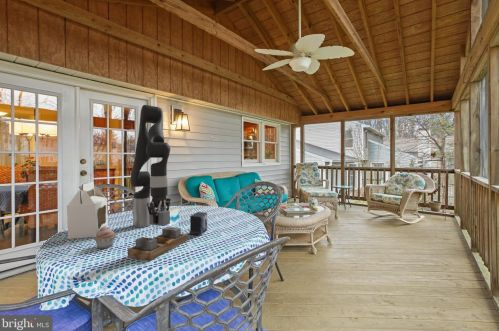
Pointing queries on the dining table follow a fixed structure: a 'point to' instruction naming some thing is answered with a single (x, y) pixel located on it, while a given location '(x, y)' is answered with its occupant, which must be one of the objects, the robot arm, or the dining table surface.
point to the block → (161, 218)
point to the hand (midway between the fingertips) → (159, 222)
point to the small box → (198, 223)
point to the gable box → (87, 212)
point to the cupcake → (105, 237)
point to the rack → (157, 244)
